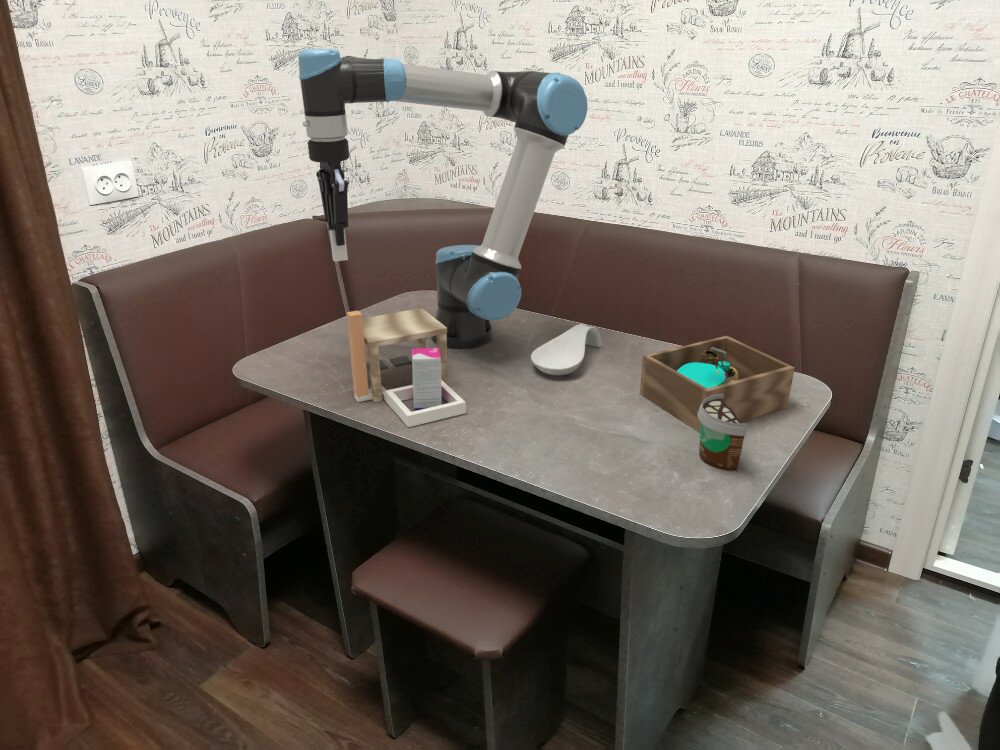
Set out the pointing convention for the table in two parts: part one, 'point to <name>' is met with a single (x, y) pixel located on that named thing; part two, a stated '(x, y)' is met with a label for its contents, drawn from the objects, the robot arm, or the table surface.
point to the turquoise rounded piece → (710, 370)
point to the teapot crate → (748, 396)
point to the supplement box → (426, 378)
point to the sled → (398, 394)
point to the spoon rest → (565, 350)
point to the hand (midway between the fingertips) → (340, 259)
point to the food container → (720, 434)
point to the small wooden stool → (401, 339)
